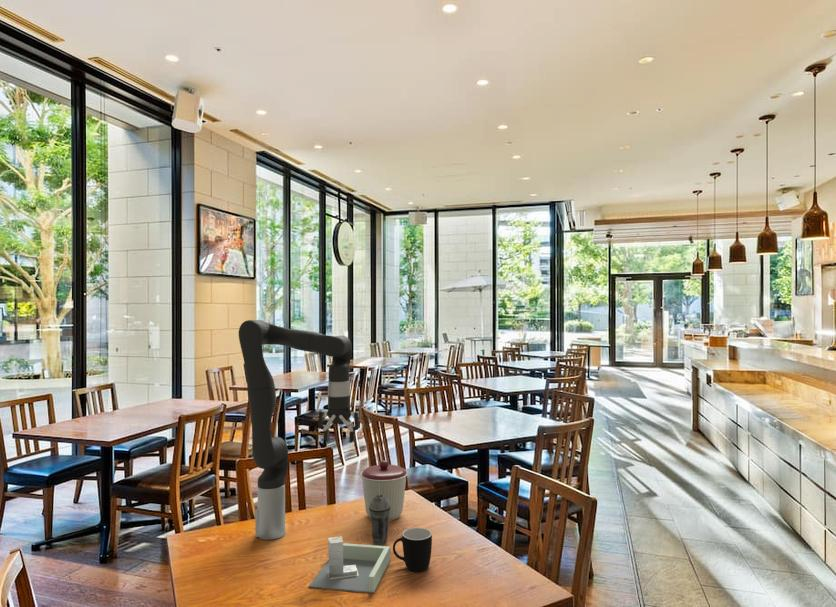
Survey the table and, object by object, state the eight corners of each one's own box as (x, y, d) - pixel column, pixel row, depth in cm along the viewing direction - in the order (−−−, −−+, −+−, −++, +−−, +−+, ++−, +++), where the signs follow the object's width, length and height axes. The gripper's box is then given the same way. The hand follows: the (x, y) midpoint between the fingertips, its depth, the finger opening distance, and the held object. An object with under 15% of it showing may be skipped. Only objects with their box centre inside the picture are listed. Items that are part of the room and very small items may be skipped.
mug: (434, 561, 162) (433, 528, 162) (430, 575, 153) (429, 540, 153) (395, 558, 164) (395, 526, 164) (390, 573, 155) (389, 538, 155)
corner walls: (308, 587, 147) (308, 571, 147) (331, 556, 166) (331, 542, 166) (374, 593, 143) (374, 576, 144) (390, 561, 162) (390, 546, 162)
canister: (403, 506, 209) (403, 452, 209) (412, 523, 191) (412, 465, 191) (358, 510, 205) (357, 456, 205) (363, 528, 187) (362, 469, 188)
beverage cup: (392, 538, 179) (391, 479, 179) (389, 547, 172) (388, 486, 172) (371, 537, 180) (370, 478, 180) (367, 546, 172) (366, 485, 173)
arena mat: (308, 587, 147) (308, 585, 147) (331, 556, 166) (331, 555, 166) (374, 593, 143) (374, 591, 143) (390, 561, 162) (390, 559, 162)
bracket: (329, 578, 151) (329, 543, 151) (328, 571, 155) (328, 537, 155) (357, 575, 153) (356, 540, 153) (355, 568, 157) (355, 534, 157)
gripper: (362, 392, 182) (362, 439, 181) (323, 392, 184) (323, 438, 184) (355, 396, 174) (356, 445, 174) (315, 395, 177) (315, 443, 176)
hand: (339, 441), depth 179 cm, fingers open, 8 cm apart
